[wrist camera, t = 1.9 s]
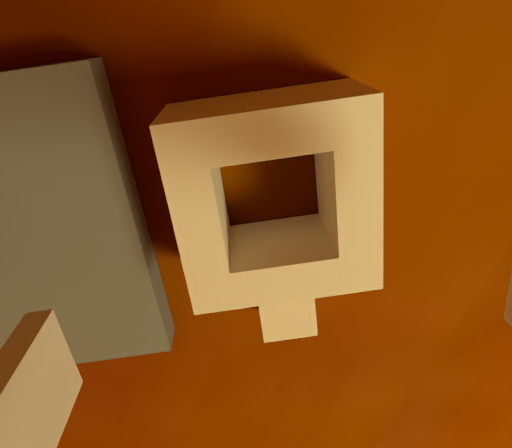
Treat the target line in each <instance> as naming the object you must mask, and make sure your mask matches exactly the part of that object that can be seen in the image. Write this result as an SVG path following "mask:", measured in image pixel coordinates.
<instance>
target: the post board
mask: <svg viewBox="0 0 512 448" xmlns="http://www.w3.org/2000/svg"><path fill="white" fill-rule="evenodd" d="M50 309H53V311H54V313H55V315H56V318H57V320H58V323H59V325H60V327H61V330H62V332H63V335H64V337H65V340H66V342H67V344H68V347H69V349H70V352H71V354H72V357H73V359H74V361H75V364H78V363H85V362H92V361H100V360H107V359H114V358H121V357H129V356H136V355H143V354H150V353H157V352H165V351H171V347H172V341H173V336H174V330H175V327H174V323H173V319H172V316H171V312H170V308H169V305H168V301H167V297H166V293H165V290H164V286H163V282H162V279H161V275H160V271H159V267H158V264H157V260H156V256H155V253H154V249H153V245H152V241H151V238H150V234H149V230H148V227H147V223H146V219H145V215H144V212H143V208H142V204H141V201H140V197H139V193H138V189H137V186H136V182H135V178H134V175H133V171H132V167H131V163H130V160H129V156H128V152H127V148H126V145H125V141H124V137H123V134H122V130H121V126H120V122H119V119H118V115H117V111H116V108H115V104H114V100H113V96H112V93H111V89H110V85H109V82H108V78H107V74H106V70H105V67H104V63H103V59H102V57H95V58H88V59H81V60H74V61H67V62H60V63H53V64H46V65H39V66H32V67H26V68H19V69H12V70H5V71H0V349H1V348H2V346H3V345H4V343H5V342H6V341H7V339H8V338H9V336H10V335H11V333H12V332H13V331H14V329H15V328H16V326H17V325H18V323H19V322H20V320H21V319H22V318H23V316H24V315H25V313H30V312H36V311H43V310H50Z"/></svg>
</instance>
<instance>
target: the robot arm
mask: <svg viewBox="0 0 512 448" xmlns="http://www.w3.org/2000/svg"><path fill="white" fill-rule="evenodd" d="M504 319H505V320H506V322H507V323H508V324H509V325H510V326H511V327H512V269H511V276H510V283H509V289H508V296H507V302H506V309H505V315H504ZM82 383H83V381H82V378H81V376H80V373H79V371H78V369H77V366H76V364H75V361H74V359H73V357H72V354H71V352H70V349H69V347H68V344H67V342H66V340H65V337H64V335H63V332H62V330H61V327H60V325H59V323H58V320H57V318H56V315H55V313H54V311H53V309H50V310H43V311H36V312H30V313H25V315H24V316H23V318H22V319H21V320H20V322H19V323H18V325H17V326H16V328H15V329H14V331H13V332H12V333H11V335H10V336H9V338H8V339H7V341H6V342H5V343H4V345H3V346H2V348H1V349H0V448H57V445H58V443H59V440H60V438H61V435H62V433H63V430H64V428H65V425H66V423H67V420H68V418H69V415H70V413H71V410H72V408H73V405H74V403H75V400H76V398H77V395H78V393H79V390H80V388H81V385H82Z"/></svg>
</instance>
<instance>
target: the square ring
mask: <svg viewBox="0 0 512 448" xmlns="http://www.w3.org/2000/svg"><path fill="white" fill-rule="evenodd" d="M149 128H150V132H151V136H152V141H153V145H154V149H155V153H156V157H157V161H158V166H159V170H160V174H161V178H162V182H163V186H164V191H165V195H166V199H167V203H168V207H169V211H170V216H171V220H172V224H173V228H174V232H175V237H176V241H177V245H178V249H179V253H180V257H181V262H182V266H183V270H184V274H185V278H186V282H187V287H188V291H189V295H190V299H191V303H192V307H193V312H194V315H198V314H205V313H212V312H220V311H227V310H234V309H241V308H248V307H256V306H259V312H260V319H261V325H262V332H263V338H264V343H266V342H273V341H280V340H288V339H295V338H302V337H309V336H317V335H318V333H317V321H316V309H315V298H320V297H327V296H335V295H342V294H349V293H356V292H363V291H371V290H378V289H383V92H381V91H379V90H376V89H374V88H372V87H370V86H367V85H365V84H363V83H361V82H358V81H356V80H354V79H352V78H344V79H337V80H330V81H323V82H316V83H309V84H302V85H295V86H288V87H281V88H274V89H267V90H260V91H253V92H246V93H239V94H232V95H225V96H218V97H211V98H204V99H197V100H190V101H183V102H176V103H169V104H166V106H165V107H164V108H163V109H162V111H161V112H160V113H159V114H158V116H157V117H156V118H155V119H154V121H153V122H152V123H151V124H150V125H149ZM309 154H314V159H315V173H316V187H317V201H318V214H311V215H304V216H297V217H289V218H282V219H275V220H268V221H261V222H254V223H247V224H240V225H233V226H230V224H229V218H228V212H227V207H226V201H225V195H224V189H223V184H222V178H221V172H220V167H225V166H232V165H239V164H246V163H253V162H260V161H267V160H274V159H281V158H288V157H295V156H302V155H309Z"/></svg>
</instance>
